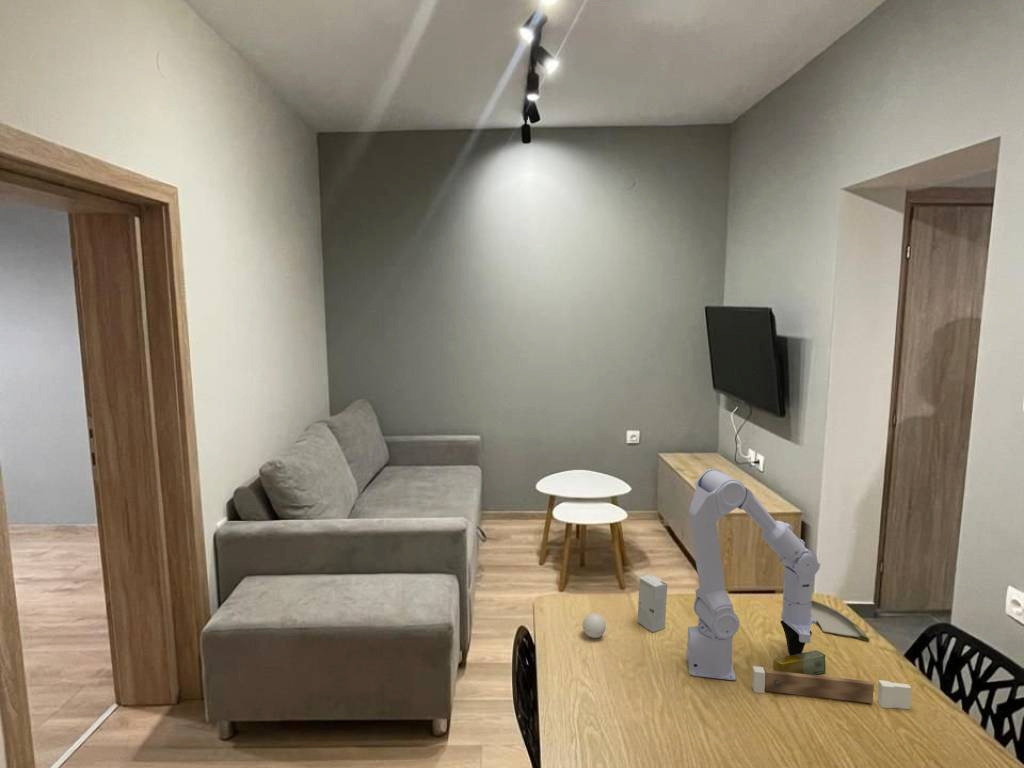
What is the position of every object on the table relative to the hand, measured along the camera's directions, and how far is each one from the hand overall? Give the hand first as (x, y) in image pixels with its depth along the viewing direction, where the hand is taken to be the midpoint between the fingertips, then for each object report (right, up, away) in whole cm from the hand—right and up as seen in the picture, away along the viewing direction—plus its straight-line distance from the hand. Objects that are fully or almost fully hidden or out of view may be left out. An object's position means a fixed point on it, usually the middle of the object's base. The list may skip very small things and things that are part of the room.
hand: (794, 655), depth 130 cm
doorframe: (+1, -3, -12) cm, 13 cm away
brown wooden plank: (-1, -2, -12) cm, 13 cm away
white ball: (-45, -1, +12) cm, 46 cm away
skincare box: (-28, 0, +16) cm, 32 cm away
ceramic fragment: (+17, 0, +16) cm, 23 cm away
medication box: (-1, -2, -4) cm, 5 cm away
